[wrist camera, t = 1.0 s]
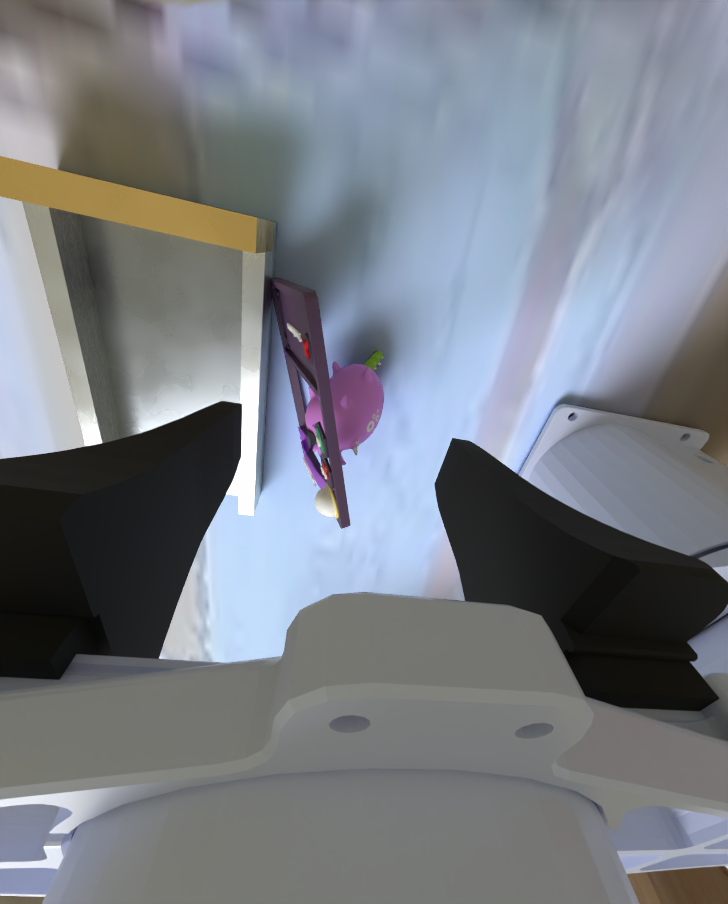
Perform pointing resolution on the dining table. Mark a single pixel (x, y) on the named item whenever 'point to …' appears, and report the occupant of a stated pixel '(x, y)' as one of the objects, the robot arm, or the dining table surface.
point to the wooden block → (682, 886)
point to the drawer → (153, 305)
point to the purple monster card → (325, 395)
